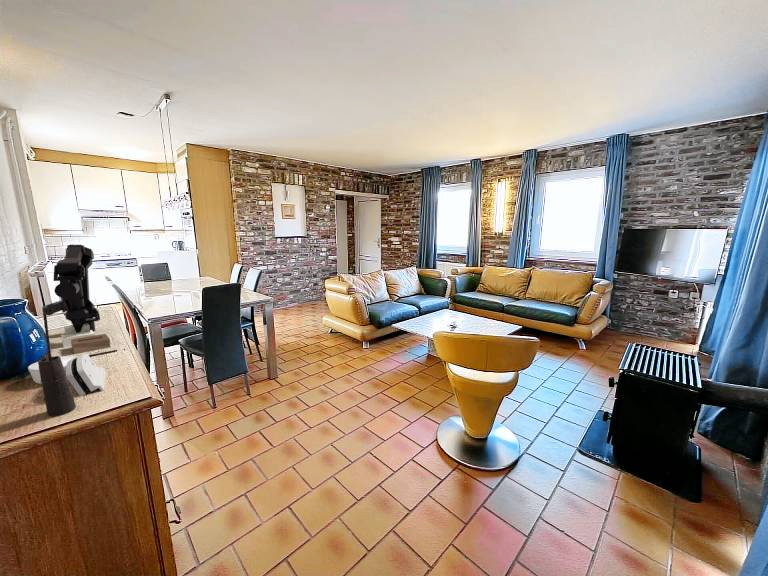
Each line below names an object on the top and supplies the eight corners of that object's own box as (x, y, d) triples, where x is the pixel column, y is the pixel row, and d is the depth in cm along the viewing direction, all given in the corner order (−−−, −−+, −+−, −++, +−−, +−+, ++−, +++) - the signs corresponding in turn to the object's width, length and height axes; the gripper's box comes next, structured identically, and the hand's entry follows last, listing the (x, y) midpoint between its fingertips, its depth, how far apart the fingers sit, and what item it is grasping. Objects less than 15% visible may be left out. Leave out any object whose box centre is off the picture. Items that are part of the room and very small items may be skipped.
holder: (62, 346, 123) (61, 334, 122) (93, 341, 130) (91, 330, 129) (64, 350, 119) (62, 338, 118) (95, 345, 125) (94, 333, 125)
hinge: (103, 391, 90) (83, 363, 86) (83, 400, 87) (62, 373, 84) (106, 371, 103) (88, 346, 99) (88, 379, 100) (70, 354, 96)
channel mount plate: (66, 350, 119) (64, 338, 118) (110, 343, 129) (109, 331, 128) (70, 360, 110) (68, 347, 109) (117, 351, 120) (115, 339, 119)
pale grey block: (66, 343, 123) (63, 326, 121) (90, 339, 128) (88, 323, 127) (67, 345, 120) (64, 328, 119) (91, 341, 126) (89, 325, 124)
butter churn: (33, 409, 80) (16, 304, 75) (84, 397, 86) (71, 300, 82) (29, 425, 73) (10, 312, 69) (84, 410, 80) (70, 306, 76)
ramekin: (81, 378, 97) (79, 363, 96) (28, 390, 89) (25, 373, 89) (81, 367, 105) (79, 353, 104) (32, 377, 97) (30, 361, 97)
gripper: (41, 292, 121) (46, 330, 123) (43, 300, 109) (49, 341, 111) (80, 289, 129) (85, 325, 132) (86, 296, 117) (91, 335, 120)
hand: (77, 331), depth 123 cm, fingers closed on pale grey block, 4 cm apart
